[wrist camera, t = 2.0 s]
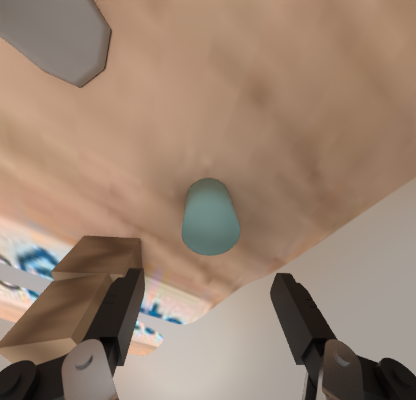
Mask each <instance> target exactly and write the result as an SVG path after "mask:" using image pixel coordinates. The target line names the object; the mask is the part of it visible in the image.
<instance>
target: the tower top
mask: <svg viewBox="0 0 416 400" xmlns="http://www.w3.org/2000/svg"><path fill="white" fill-rule="evenodd" d="M112 283H113V280H112V279H111V277H110V275H109V274H108V273H102V274H96V275H89V276H83V277H77V278H71V279H65V280H58V281H52V282H51V284H50V285H49V286H48V287H47V288H46V289H45V290H44V292H43V293H42V294H41V295H40V296H39V297H38V299H37V300H36V301H35V302H34V303H33V304H32V305H31V307H30V308H29V309H28V310H27V311H26V312H25V314H24V315H23V316H22V317H21V318H20V319H19V320H18V322H17V323H16V324H15V325H14V326H13V327H12V329H11V330H10V331H9V332H8V333H7V334H6V335H5V337H4V338H3V339H2V340H1V341H0V354H1V355H3V356H4V357H5V358H6V359H8V360H9V361H10V362H12V363H16V362H18V361H22V360H30V361H32V362H34V364H35V365H38V364H41V363H44V362H47V361H50V360H53V359H56V358H59V357H61V356H64V355H65V354H67V353H69V352H70V351H71V350H72V349H73V348H74V347H75V346H77V345H78V344H79V343H80V342H81V341H82V340H83V338H84V337H85V335H86V333H87V331H88V329H89V327H90V325H91V323H92V321H93V319H94V317H95V315H96V313H97V311H98V309H99V307H100V305H101V304H102V301H103V299H104V297H105V296H106V293H107V291H108V289H109V287H110V285H111V284H112Z"/></svg>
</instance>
